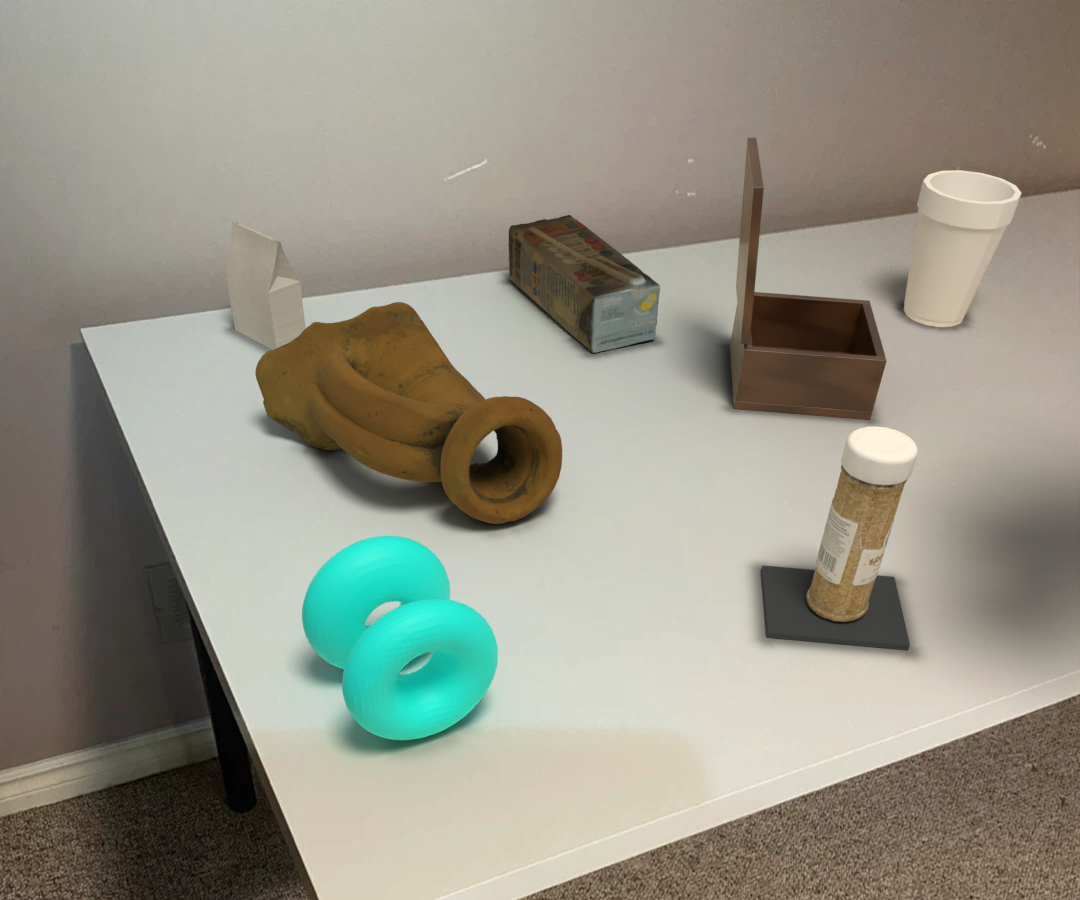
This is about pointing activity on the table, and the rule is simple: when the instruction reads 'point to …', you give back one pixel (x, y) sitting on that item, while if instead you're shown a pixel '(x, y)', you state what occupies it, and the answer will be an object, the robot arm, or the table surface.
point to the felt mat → (800, 622)
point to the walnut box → (808, 357)
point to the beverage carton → (583, 283)
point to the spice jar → (860, 521)
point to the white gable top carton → (263, 289)
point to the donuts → (399, 638)
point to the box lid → (749, 239)
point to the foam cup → (955, 242)
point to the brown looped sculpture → (410, 412)
